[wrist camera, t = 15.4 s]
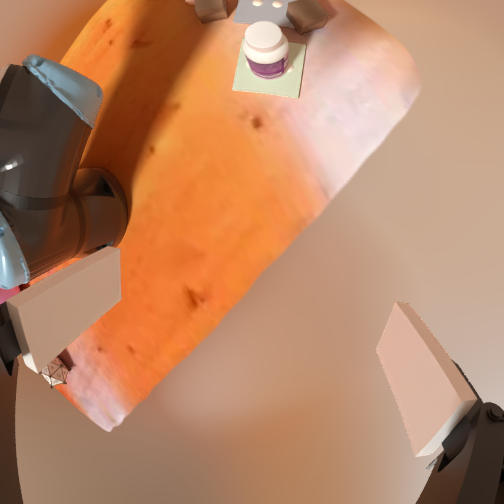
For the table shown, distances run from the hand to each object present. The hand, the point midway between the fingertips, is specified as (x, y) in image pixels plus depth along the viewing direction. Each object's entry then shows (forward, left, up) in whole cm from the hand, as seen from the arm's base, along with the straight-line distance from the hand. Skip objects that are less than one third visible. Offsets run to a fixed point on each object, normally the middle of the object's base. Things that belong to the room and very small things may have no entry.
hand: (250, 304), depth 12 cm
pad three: (-4, +21, -27) cm, 34 cm away
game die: (-46, -45, -27) cm, 70 cm away
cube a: (-14, +31, -27) cm, 43 cm away
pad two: (-6, +33, -27) cm, 43 cm away
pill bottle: (-4, +21, -26) cm, 34 cm away
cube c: (0, +30, -26) cm, 40 cm away
